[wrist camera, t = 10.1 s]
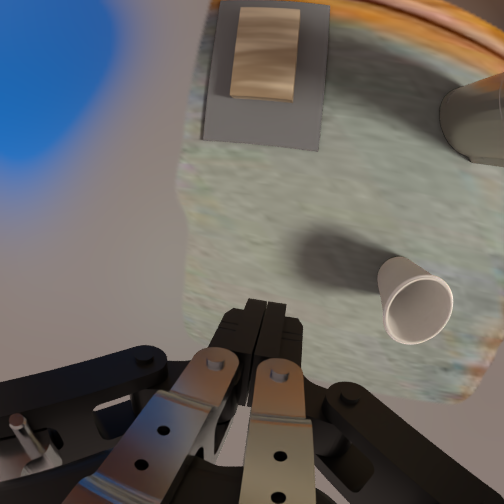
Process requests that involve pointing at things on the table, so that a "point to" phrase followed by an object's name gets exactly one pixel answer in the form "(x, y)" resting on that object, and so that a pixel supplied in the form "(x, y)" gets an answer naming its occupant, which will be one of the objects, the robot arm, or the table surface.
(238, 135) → the rubber mat
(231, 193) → the table surface
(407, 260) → the dixie cup
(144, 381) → the robot arm
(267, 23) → the maple block
